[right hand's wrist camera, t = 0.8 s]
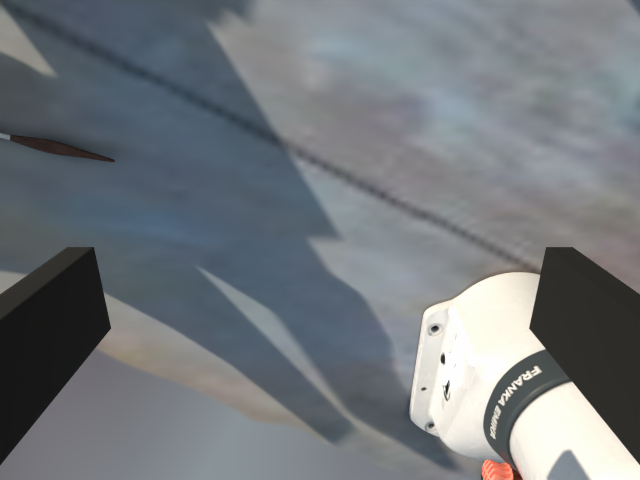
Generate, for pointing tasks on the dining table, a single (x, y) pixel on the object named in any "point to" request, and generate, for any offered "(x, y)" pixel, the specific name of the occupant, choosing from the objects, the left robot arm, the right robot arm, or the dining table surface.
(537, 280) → the left robot arm
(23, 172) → the dining table surface
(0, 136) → the fork
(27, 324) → the right robot arm
